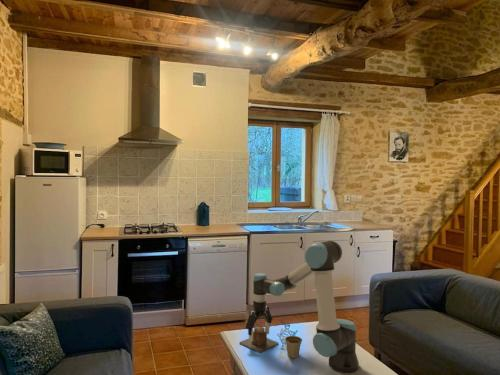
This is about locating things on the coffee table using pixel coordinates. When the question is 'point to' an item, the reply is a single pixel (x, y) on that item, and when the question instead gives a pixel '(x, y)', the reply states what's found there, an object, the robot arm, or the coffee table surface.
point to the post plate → (258, 348)
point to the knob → (259, 336)
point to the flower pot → (293, 345)
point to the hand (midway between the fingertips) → (259, 336)
